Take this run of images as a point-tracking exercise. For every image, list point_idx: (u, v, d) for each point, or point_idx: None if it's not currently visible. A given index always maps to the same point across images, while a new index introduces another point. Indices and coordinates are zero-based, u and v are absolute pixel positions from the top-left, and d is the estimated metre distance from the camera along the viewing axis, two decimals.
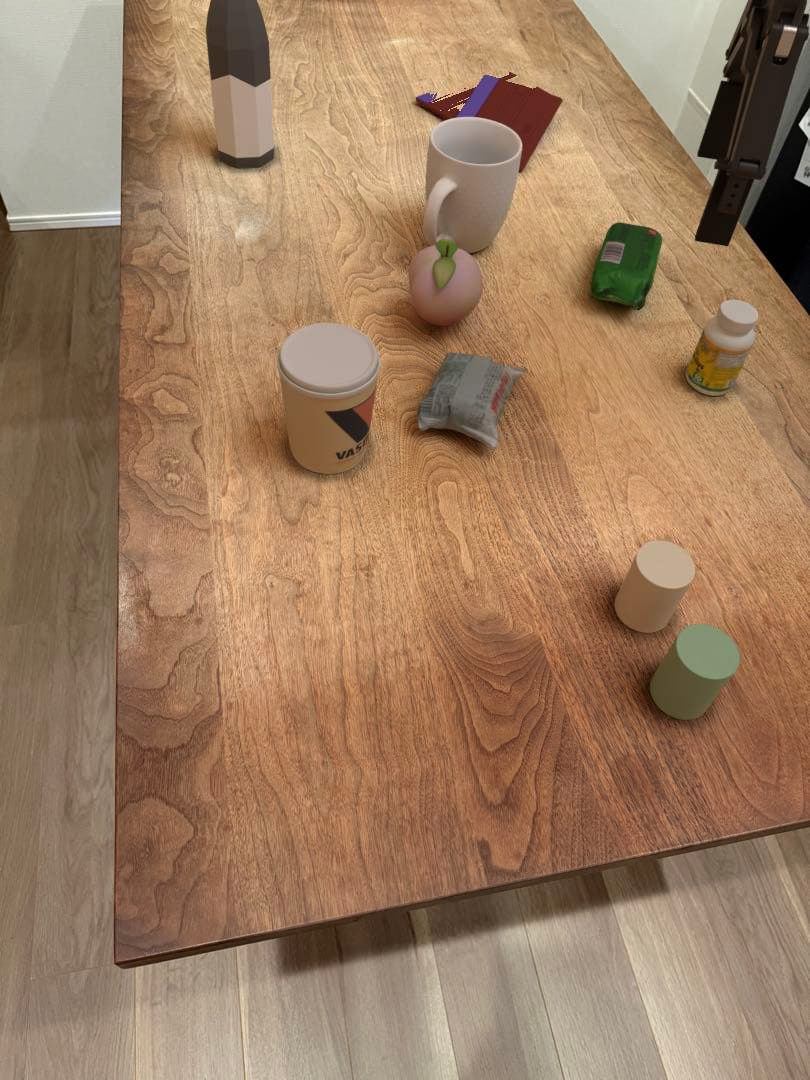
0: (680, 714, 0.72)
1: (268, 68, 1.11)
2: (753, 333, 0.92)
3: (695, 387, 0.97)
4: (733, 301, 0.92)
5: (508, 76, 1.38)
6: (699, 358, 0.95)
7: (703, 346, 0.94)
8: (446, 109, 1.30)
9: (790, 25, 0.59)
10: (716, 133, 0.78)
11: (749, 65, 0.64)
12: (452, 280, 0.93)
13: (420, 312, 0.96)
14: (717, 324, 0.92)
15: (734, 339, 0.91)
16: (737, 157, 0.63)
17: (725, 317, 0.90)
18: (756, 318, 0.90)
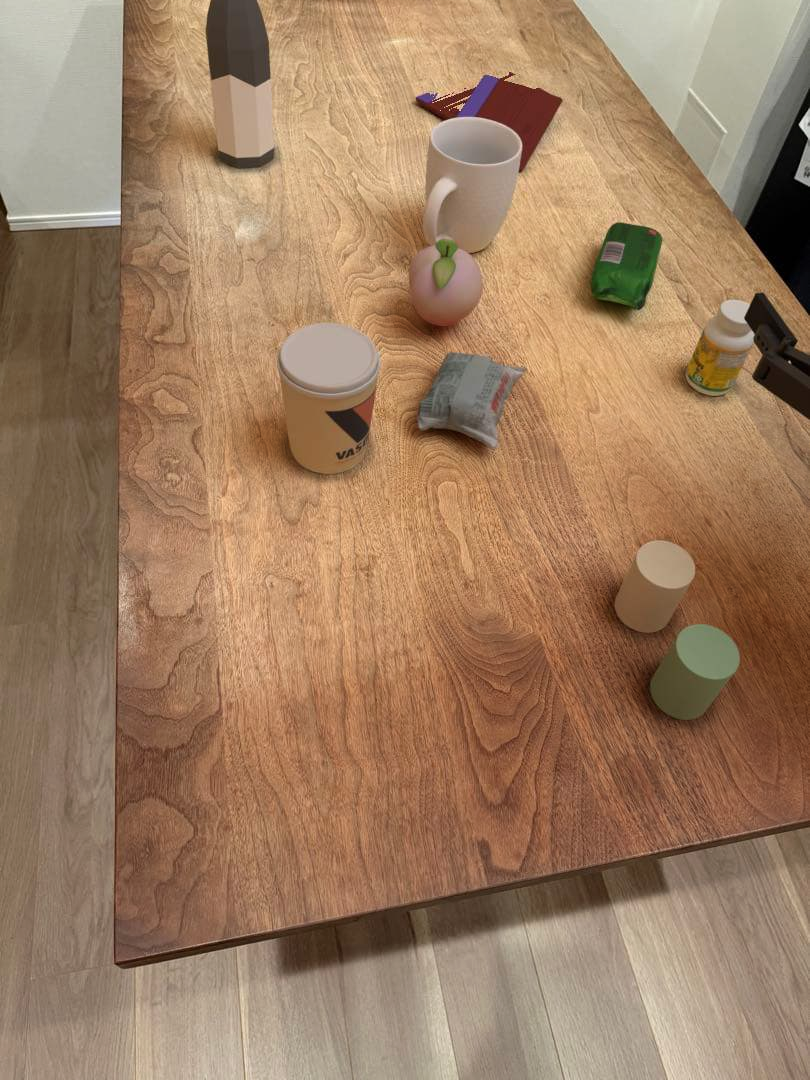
0: (680, 714, 0.72)
1: (268, 68, 1.11)
2: (753, 333, 0.92)
3: (695, 387, 0.97)
4: (733, 301, 0.92)
5: (508, 76, 1.38)
6: (699, 358, 0.95)
7: (703, 346, 0.94)
8: (446, 109, 1.30)
9: None
10: None
11: None
12: (452, 280, 0.93)
13: (420, 312, 0.96)
14: (717, 324, 0.92)
15: (734, 339, 0.91)
16: None
17: (725, 317, 0.90)
18: None
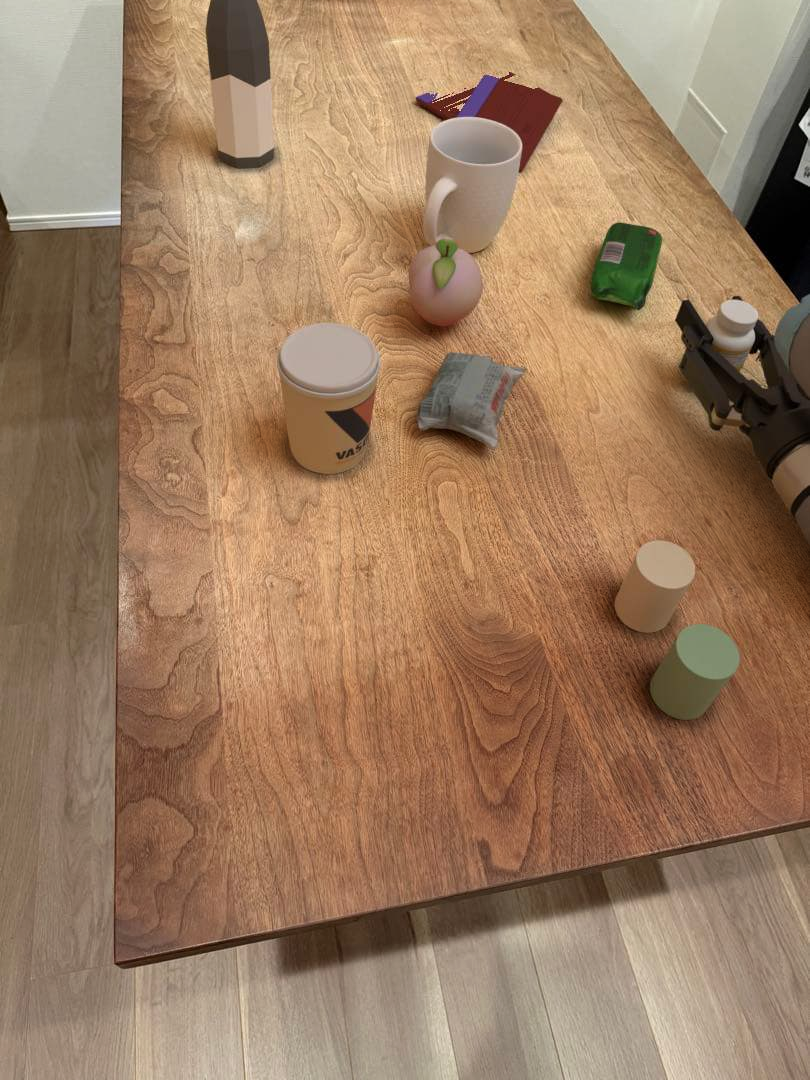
0: (680, 714, 0.72)
1: (268, 68, 1.11)
2: (753, 333, 0.92)
3: None
4: (733, 301, 0.92)
5: (508, 76, 1.38)
6: None
7: None
8: (446, 109, 1.30)
9: None
10: None
11: None
12: (452, 280, 0.93)
13: (420, 312, 0.96)
14: (717, 324, 0.92)
15: (734, 339, 0.91)
16: None
17: (725, 317, 0.90)
18: (756, 318, 0.90)
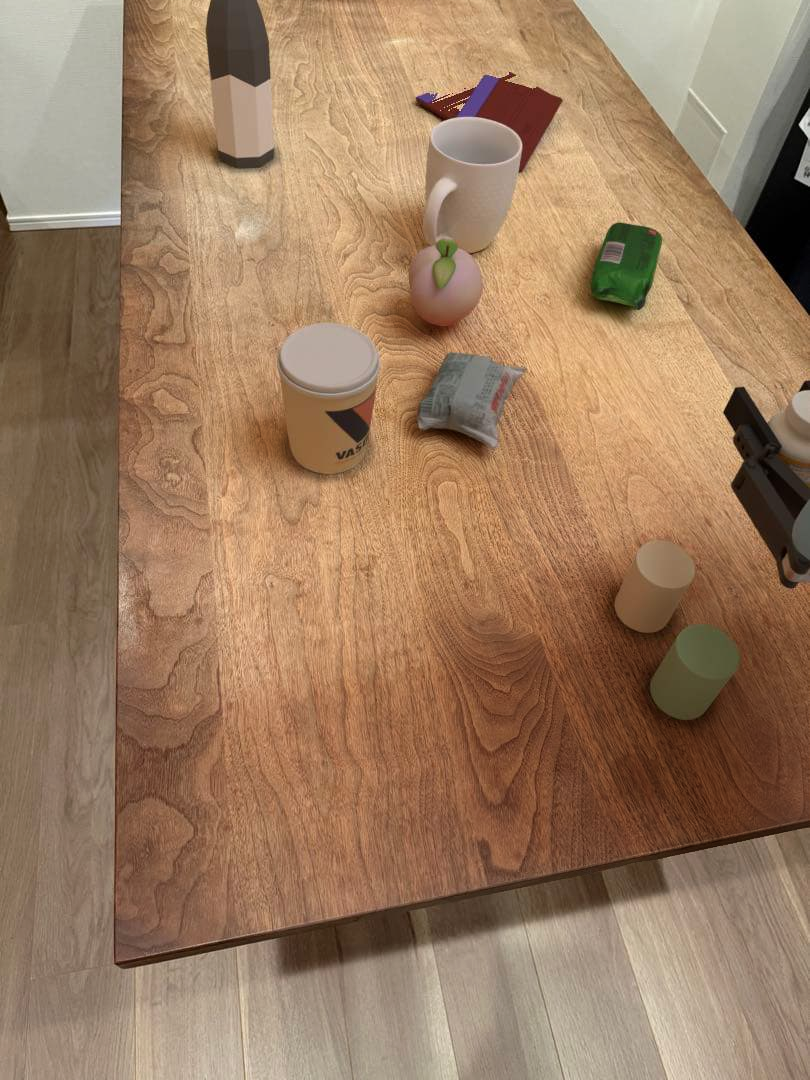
0: (680, 714, 0.72)
1: (268, 68, 1.11)
2: None
3: None
4: (809, 393, 0.65)
5: (508, 76, 1.38)
6: None
7: None
8: (446, 109, 1.30)
9: None
10: None
11: None
12: (452, 280, 0.93)
13: (420, 312, 0.96)
14: (786, 425, 0.65)
15: None
16: None
17: (798, 418, 0.64)
18: None
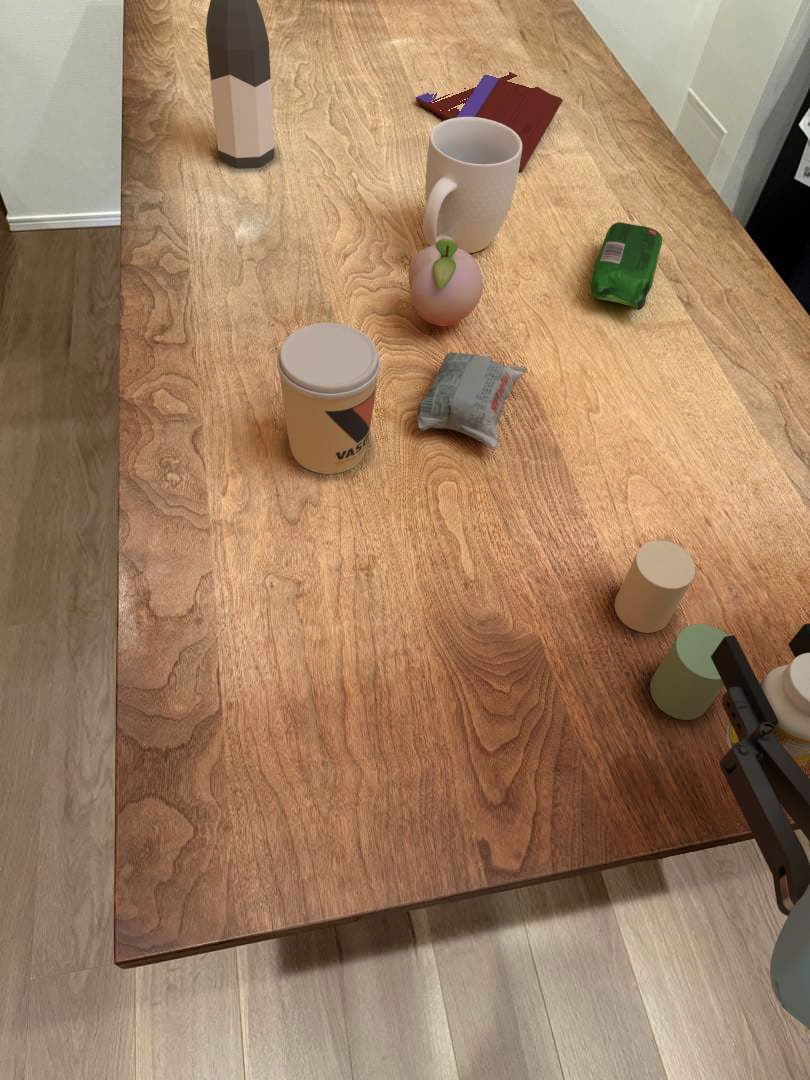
0: (680, 714, 0.72)
1: (268, 68, 1.11)
2: None
3: None
4: None
5: (508, 76, 1.38)
6: None
7: None
8: (446, 109, 1.30)
9: None
10: None
11: None
12: (452, 280, 0.93)
13: (420, 312, 0.96)
14: (783, 693, 0.56)
15: None
16: None
17: (798, 694, 0.54)
18: None
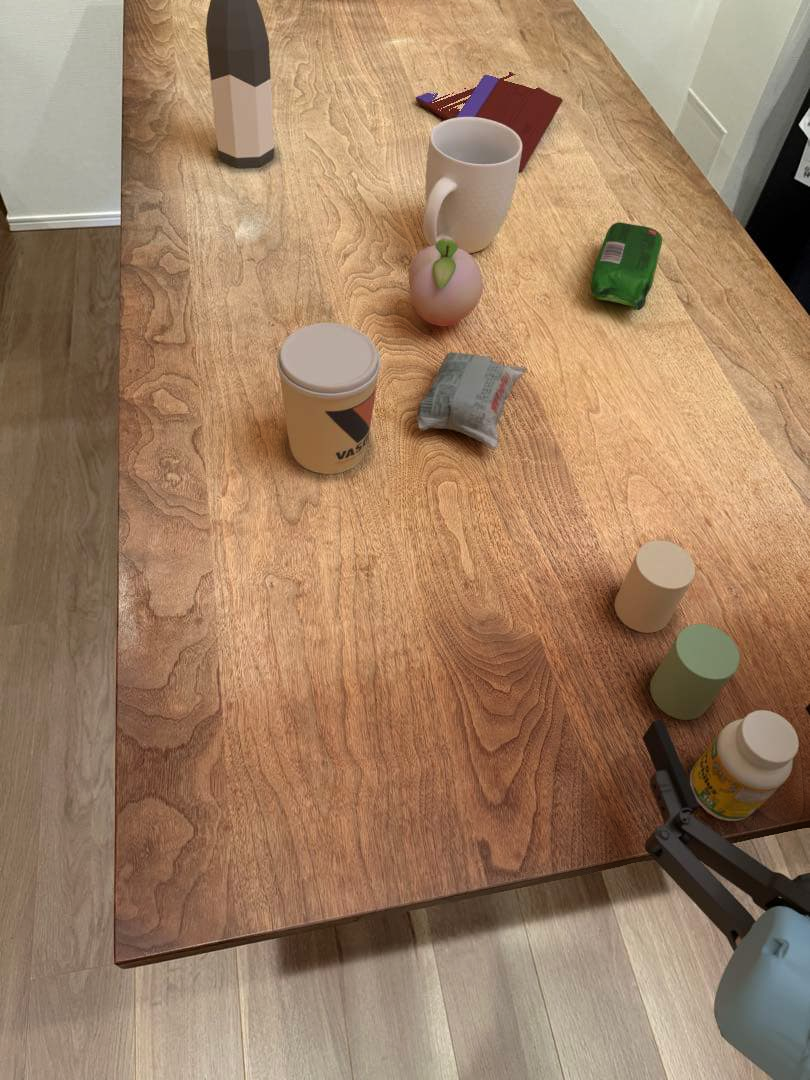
0: (680, 714, 0.72)
1: (268, 68, 1.11)
2: None
3: (704, 807, 0.67)
4: (761, 714, 0.62)
5: (508, 76, 1.38)
6: (710, 780, 0.65)
7: (717, 770, 0.64)
8: (446, 109, 1.30)
9: None
10: None
11: None
12: (452, 280, 0.93)
13: (420, 312, 0.96)
14: (737, 746, 0.62)
15: (762, 775, 0.61)
16: None
17: (749, 749, 0.61)
18: (796, 750, 0.61)
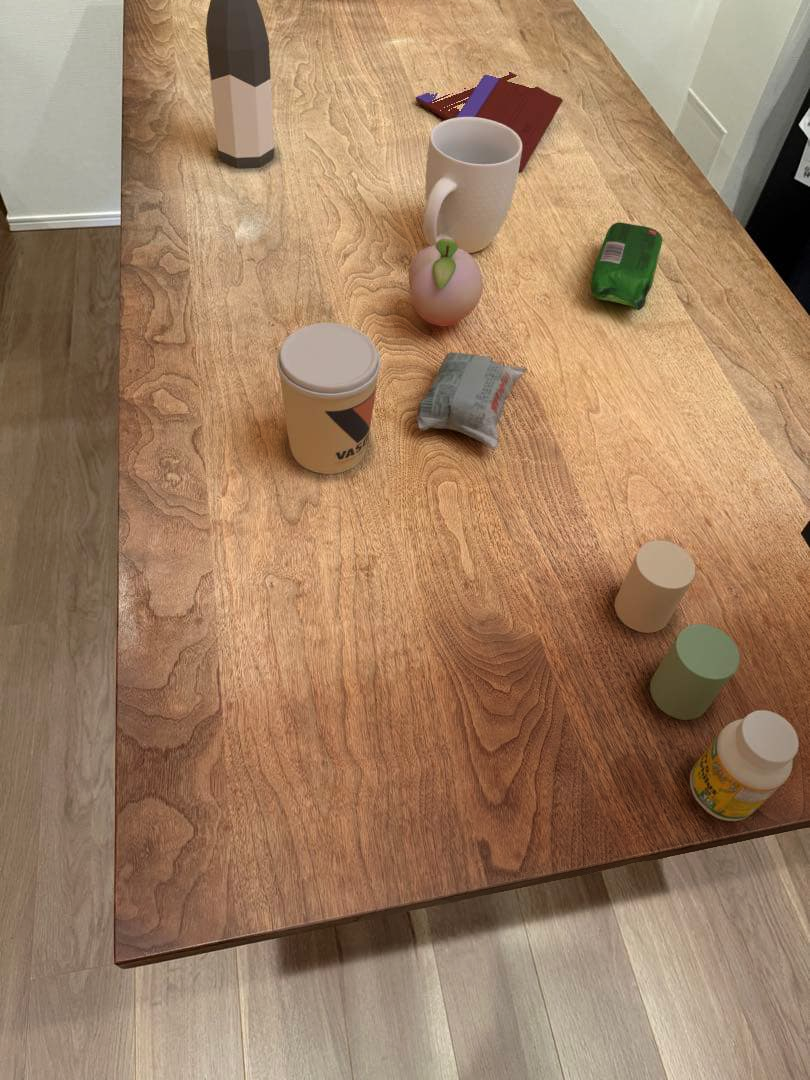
0: (680, 714, 0.72)
1: (268, 68, 1.11)
2: None
3: (704, 807, 0.67)
4: (761, 714, 0.62)
5: (508, 76, 1.38)
6: (710, 780, 0.65)
7: (717, 770, 0.64)
8: (446, 109, 1.30)
9: None
10: None
11: None
12: (452, 280, 0.93)
13: (420, 312, 0.96)
14: (737, 746, 0.62)
15: (762, 775, 0.61)
16: None
17: (749, 749, 0.61)
18: (796, 750, 0.61)
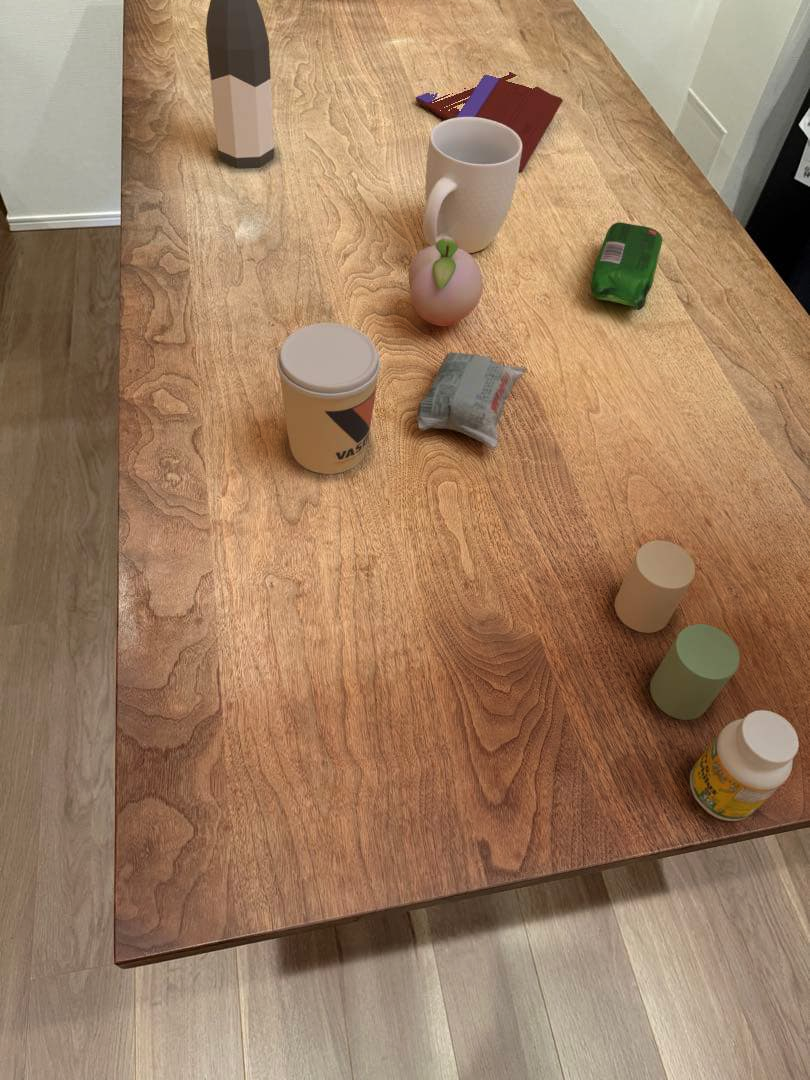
0: (680, 714, 0.72)
1: (268, 68, 1.11)
2: None
3: (704, 807, 0.67)
4: (761, 714, 0.62)
5: (508, 76, 1.38)
6: (710, 780, 0.65)
7: (717, 770, 0.64)
8: (446, 109, 1.30)
9: None
10: None
11: None
12: (452, 280, 0.93)
13: (420, 312, 0.96)
14: (737, 746, 0.62)
15: (762, 775, 0.61)
16: None
17: (749, 749, 0.61)
18: (796, 750, 0.61)
